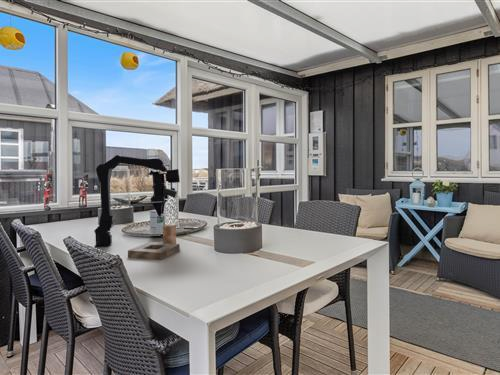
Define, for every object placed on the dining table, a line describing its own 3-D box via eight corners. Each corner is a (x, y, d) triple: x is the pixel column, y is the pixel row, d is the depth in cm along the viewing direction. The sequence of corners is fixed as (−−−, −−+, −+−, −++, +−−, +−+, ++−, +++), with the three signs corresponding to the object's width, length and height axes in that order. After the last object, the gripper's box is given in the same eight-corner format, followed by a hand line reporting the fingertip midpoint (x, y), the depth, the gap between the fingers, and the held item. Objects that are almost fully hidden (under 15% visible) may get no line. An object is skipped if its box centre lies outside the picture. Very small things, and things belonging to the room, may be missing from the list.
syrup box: (156, 237, 185) (156, 210, 184) (150, 235, 189) (149, 209, 188) (165, 235, 190) (164, 209, 189) (158, 234, 193) (157, 208, 192)
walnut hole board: (128, 257, 146) (127, 250, 146) (148, 248, 161) (148, 241, 161) (161, 259, 142) (161, 252, 141) (179, 250, 157) (179, 243, 157)
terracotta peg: (163, 246, 164) (162, 226, 164) (167, 244, 169) (167, 224, 168) (171, 247, 163) (171, 226, 163) (176, 244, 168) (175, 224, 167)
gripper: (173, 183, 162) (175, 215, 163) (176, 182, 180) (178, 211, 181) (149, 184, 161) (151, 217, 161) (155, 183, 179) (157, 213, 180)
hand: (161, 214), depth 171 cm, fingers open, 9 cm apart
